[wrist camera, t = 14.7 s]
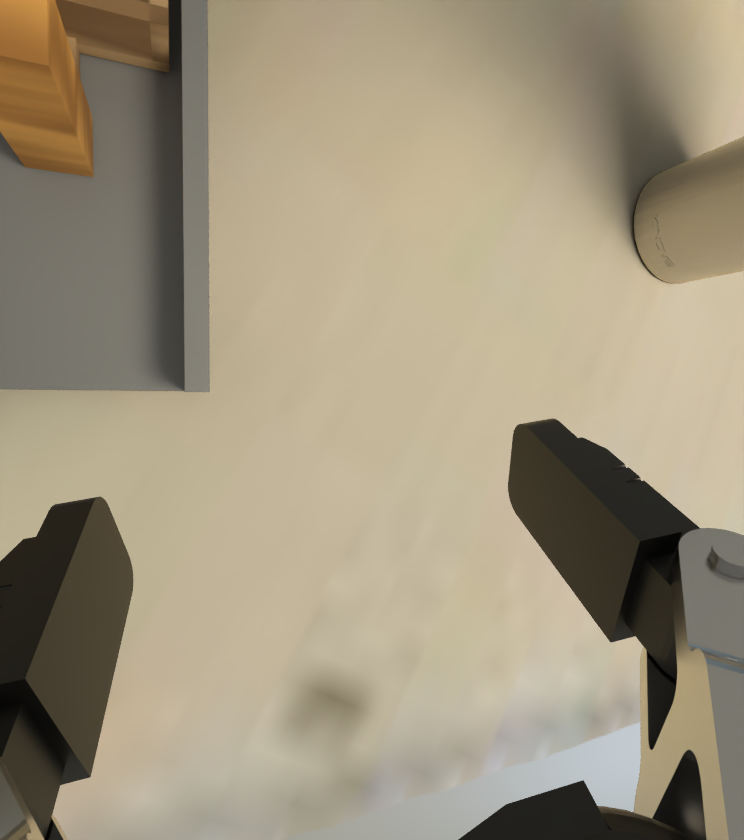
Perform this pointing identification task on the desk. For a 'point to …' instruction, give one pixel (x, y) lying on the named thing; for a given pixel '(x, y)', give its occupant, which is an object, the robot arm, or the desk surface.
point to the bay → (116, 235)
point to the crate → (68, 70)
